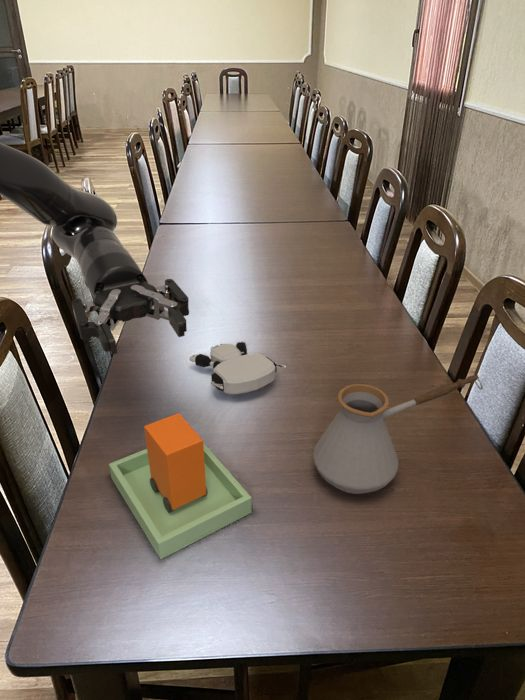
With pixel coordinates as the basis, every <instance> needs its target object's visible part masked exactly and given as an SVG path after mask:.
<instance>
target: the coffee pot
mask: <svg viewBox="0 0 525 700" xmlns="http://www.w3.org/2000/svg"><path fill="white" fill-rule="evenodd" d="M477 381H478V382H477ZM473 383H475V386H476V387H477V388H478V389H479V390H483V389H484V386H483V384H482V381H481V380H480V377H479V375H478V374H473V375H469V376H467V377H466V378H464V379H462V378H458V379H457V381H456V382H451V383H447V384H444V385H439V386H438V387H436V388H434V389H432V390H429V391H428V392H425V393H423V394H421V395H418V396H417V397H415V398H413V399H411V400H408V401H405V402H403V403H401V404H398V405H395V406H392V407H390V408H388V407H389V405H390V400H389V397H388V396H387V394H386V393H385V392H384V391H383V390H381V389H380V388H378V387H376V386H373V385H370V384H365V383H354V384H349V385H346V386H344V387H343V388H341V389H340V390H339V392H338V393H337V401H338V404H339V405H340V407H341V408H340V409H339V411H338V412H337V413H336V415H335V417H334V418H333V420H331V422H330V424H329V425H328V426H327V427H326V429H325V431H324V432H323V433H322V435H321V437H320V438H319V439H318V440H317V442H316V444H315V445H314V449H313V451H312V458H313V464H314V466H315V469H317V472H318V474H319V475H320V477H321V478H322V479H324V481H326V482H327V483H328V484H329V485H331V486H333V487H334V488H336V489H338V490H340V491H342V492H345V493H348V494H353V495H355V494H356V495H359V494H361V495H362V494H367V493H372V492H373V493H374V492H377V491H378V490H381V489H383V488H385V487H386V486H387V485H388V484H390V482H391V481H393V479H394V478H395V477H396V475H397V472H398V470H399V458H398V455H397V452H396V449H395V447H394V444H393V440H392V438H391V435H390V432H389V430H388V429H389V428H388V427H387V424H386V421H385V419H387V418H389V417H392V416H394V415H396V414H398V413H400V412H403V411H405V410H408V409H410V408H412V407H414V406H418V405H422V404H424V403H428V402H430V401H433V400H435V399H438V398H441V397H442V398H443V397H444V396H446V395H449V394H450V393H452V392H454V391H455V390H457V389H459V388H460V389H464V388H465V387H466V385H468V384H473Z"/></svg>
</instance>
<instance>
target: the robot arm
mask: <svg viewBox="0 0 525 700" xmlns="http://www.w3.org/2000/svg"><path fill="white" fill-rule="evenodd" d="M0 196H1V197H3V198H4V199H6V200H7V201H9V202H11V203H12V204H13V205H15V206H16V207H18V208H19V209H20V210H21V211H23V212H25V213H27V214H28V215H29V216H31V217H32V218H33V219H35V220H37V221H38V222H40V223H41V224H43V225H45V226H47V227H52V229H51V236H52V239H53V241H54V242H55V244H56V245H57V247H58V248H59V249H61V250H62V251H63V252H65V254H67V255H69V256H71V257H72V258H74V259H75V260H76V262H77V264H78V265H79V268H80V270H81V271H80V272H81V275H82V278H83V280H84V281H83V282H84V284H85V286H86V287H87V289H88V290H89V293H90V294H91V297H92V299H93V300H91V301H87V302H83V300H82V299H81V298H73V299H72V300H71V305H72V311H73V316H74V319H75V323H76V326H77V329H78V333H79V336H80V339H81V340H82V341H89V340H90V339H91V338H96V339H97V340H98V342H99V344H100V346H101V348H102V350H103V351H104V352H105V353H107V352H109V353H110V355H112V356H113V355H117V354H118V347H117V342H116V338H115V337H114V334H113V333H112V332H113V331H114V330H115V329H116V327H117V326H118V325H119V323H120V322H122V323H126V322H129V321H131V320H134V319H141V318H145V317H149V318H152V319H154V320H157V321H159V320H160V319H163V320H166V321H168V322H169V324H170V327H171V328H172V330H173V331H174V332H175V334H176V336H177V337H178V338H182V337H185V332H188V331H187V329H188V328H187V319H186V318H185V317H188V316H189V315H190V307H189V296H188V295H187V294H186V293H185V291H183V290H182V288H181V287H180V286H179V285H178V284H177V282H176V281H175V280H174V279H172V278H167V279H165V280H164V285H159V286H155V285H153V284H151V283H149V282H148V280H147V278H146V276H145V274H144V273H143V271H142V270H141V268H140V266H139V265H138V264H137V262H136V261H135V259H134V258H133V256H132V255H131V254H130V252H129V250H127V248H125V247H124V245H123V243H122V242H121V241H120V239H119V238H118V236H117V235H116V233H115V232H114V231H115V230H116V229H117V226H118V216H117V213H116V212H115V209H114V208H113V206H112V205H110V204H109V203H108V201H106V200H105V199H104V198H101V197H100V196H98V195H95V194H93V193H91V192H88V191H85V190H82V189H79V188H77V187H75V186H73V185H72V184H71V185H70V184H69V183H68V182H67V181H65V180H64V179H63V178H62V177H61V176H60V175H58V173H56V172H55V171H54V170H53V169H51V168H50V167H49V166H48V165H46V164H45V163H44V162H43V161H41V160H39V159H37V158H35V157H34V156H32V155H30V154H27V153H26V152H24V151H21V150H19V149H17V148H15V147H11V146H9V145H7V144H5V143H2V142H0ZM165 308H166V309H165ZM93 312H96V314H98V315H97V316H96V317H95V319H94V321H89V320H90V317H91V316H92V314H93Z"/></svg>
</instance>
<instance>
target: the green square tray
mask: <svg viewBox="0 0 525 700" xmlns="http://www.w3.org/2000/svg"><path fill="white" fill-rule="evenodd" d="M203 447H204V464H205V480H206V488H207V491H208V494H207V495H206V496H204V497H200V498H198V499H195V500H193V501H191V502H189V503H187V504H185V505H183V506H181V507H178V508H176V509H175V510H174V511H172V512H170V513H168V512H167V510H166V509H165V506H164V503H163V498H164V497H163V496H162V494H161V493H160V491H159V492H157V493H155V492H154V491H153V489H152V487H151V485H150V478H151V474H150V467H149V459H148V452H147V448H144V449H142V450H140V451H138V452H135V453H133V454H130V455H128V456H125V457H122V458H119V459H117V460H115V461H112V462H110V463H108V466H109V472H110V478H111V480H112V482H113V483H114V485H115V487H116V488H117V490H118V491H119V494H120V495H121V496H122V499H123V500H124V502H125V504H126V505H127V507H128V508H129V510H130V511H131V513H132V515H133V516H134V518H135V520H136V521H137V523H138V525H139V526H140V528H141V530H142V531H143V533H144V535H145V536H146V538H147V540H148V541H149V543H150V544H151V546H152V548H153V549H154V551H155V553H156V554H157V557H158V558H159V559H160V560H163V559H164V558H167V557H168V556H170V555H172V554H174V553H176V552H178V551H180V550H182V549H184V548H186V547H188V546H190V545H192V544H193V543H195V542H197V541H199V540H201V539H203V538H205V537H207V536H209V535H211V534H213V533H215V532H217V531H219V530H221V529H223V528H225V527H227V526H228V525H230V524H232V523H234V522H236V521H238V520H240V519H242V518H244V517H246V516H248V515H250V514H252V512H253V511H252V504H253V503H252V502H253V501H252V500H253V499H252V496H251V495H250V494H249V493H248V492H247V491H246V489H245V487H243V486H242V485H241V484H240V482H238V480H237V479H236V478H235V477H234V476H233V474H232V473H230V471H229V470H228V469H227V468H226V467H225V466H224V464H223V463H222V462H221V461H220V459H219V458H218V457H217V456H216V455H215V454H214V453H213V452H212V450H211V449H210V448H209V447H208V446H207V445H206V443H204V442H203Z"/></svg>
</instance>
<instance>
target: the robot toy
mask: <svg viewBox="0 0 525 700" xmlns="http://www.w3.org/2000/svg"><path fill="white" fill-rule="evenodd" d="M247 353H248V349H247V344H246V342H245V341H237V342H236V344H235V345H234V344H233V343H220V345H219V344H217V345H212V346H211V347H210V351H209V354H210V356H209V355H206V354H202V353H199V354H193V355H191V356H189V358H188V359H189V361H190V362H192V363H195V366H197V367H200V368H207V367H212V368H213V370H212V373H211V375H210V376H211V377H210V378H211V381H210V384H211V386H212V387H214V388H216V389H217V390H219V391H220V392H223V393H225V394H226V395H240V394H246V393H247V394H248V393H251V392H254V391H255V392H256V391H258V390H259V389H260V390H261V389H262V388H263V387H266V386H267V385H269V384H271V383H272V382H273V381H274V380H275V379H276V373H277V372H278V371H277V367H280V368H283V369H287V366H286V365H283V364H280V363H277V362H276V361H273V360H272V359H270V358H269V356H265V355H264V354H261V353H249V354H247Z"/></svg>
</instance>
